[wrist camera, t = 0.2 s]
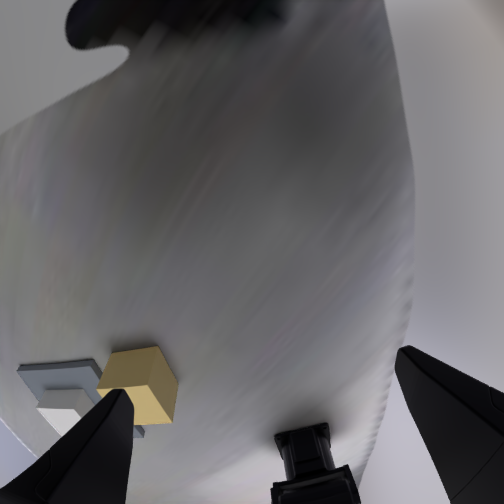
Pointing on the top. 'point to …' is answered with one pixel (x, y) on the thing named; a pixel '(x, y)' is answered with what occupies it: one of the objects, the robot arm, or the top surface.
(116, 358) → the ochre brick
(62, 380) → the baseplate
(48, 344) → the top surface
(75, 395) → the white brick
